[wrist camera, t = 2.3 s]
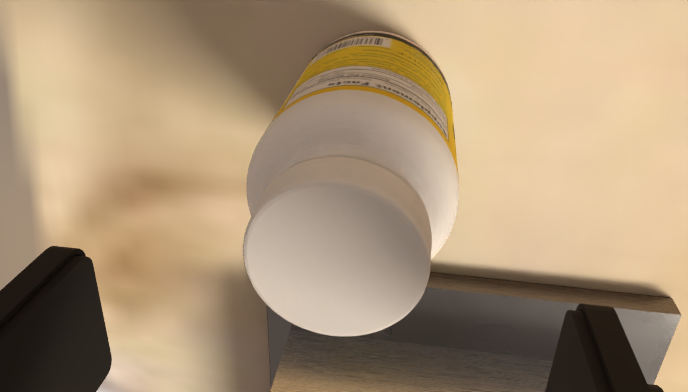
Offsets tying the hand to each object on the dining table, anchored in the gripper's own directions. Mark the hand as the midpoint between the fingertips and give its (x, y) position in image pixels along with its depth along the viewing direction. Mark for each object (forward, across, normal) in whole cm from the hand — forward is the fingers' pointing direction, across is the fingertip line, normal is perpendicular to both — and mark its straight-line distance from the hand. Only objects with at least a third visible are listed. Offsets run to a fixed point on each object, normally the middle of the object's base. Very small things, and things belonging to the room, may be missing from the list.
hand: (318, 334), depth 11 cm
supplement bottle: (+11, 0, -1) cm, 11 cm away
